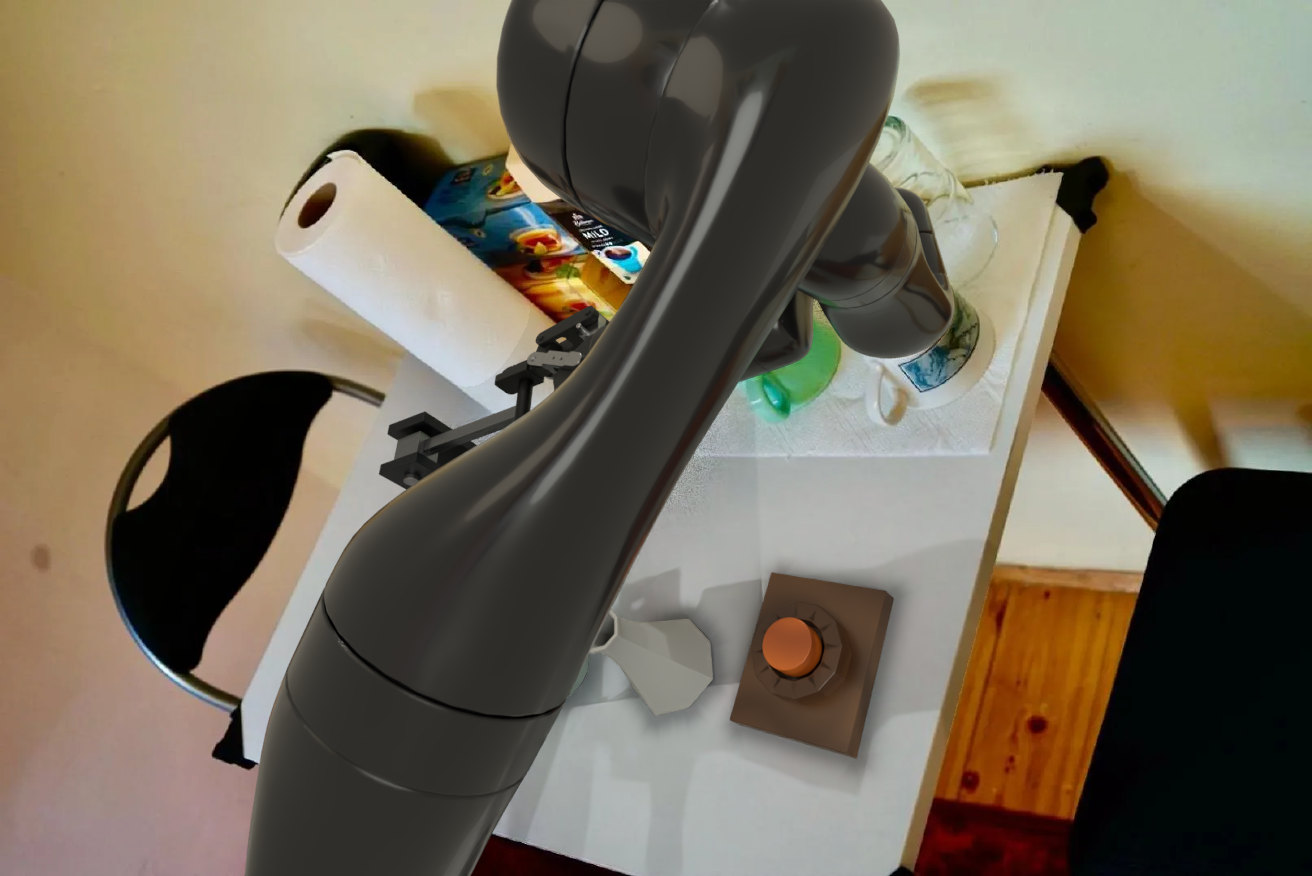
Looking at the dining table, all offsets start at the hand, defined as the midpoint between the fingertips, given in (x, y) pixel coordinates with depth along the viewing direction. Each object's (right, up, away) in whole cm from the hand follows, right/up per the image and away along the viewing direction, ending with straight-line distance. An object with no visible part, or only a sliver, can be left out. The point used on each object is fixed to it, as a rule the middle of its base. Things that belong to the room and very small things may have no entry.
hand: (497, 420), depth 73 cm
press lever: (-2, -2, +3) cm, 4 cm away
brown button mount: (+24, -17, -10) cm, 31 cm away
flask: (+14, -19, -4) cm, 24 cm away
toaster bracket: (-1, -8, +14) cm, 16 cm away
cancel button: (+22, -16, -12) cm, 30 cm away
